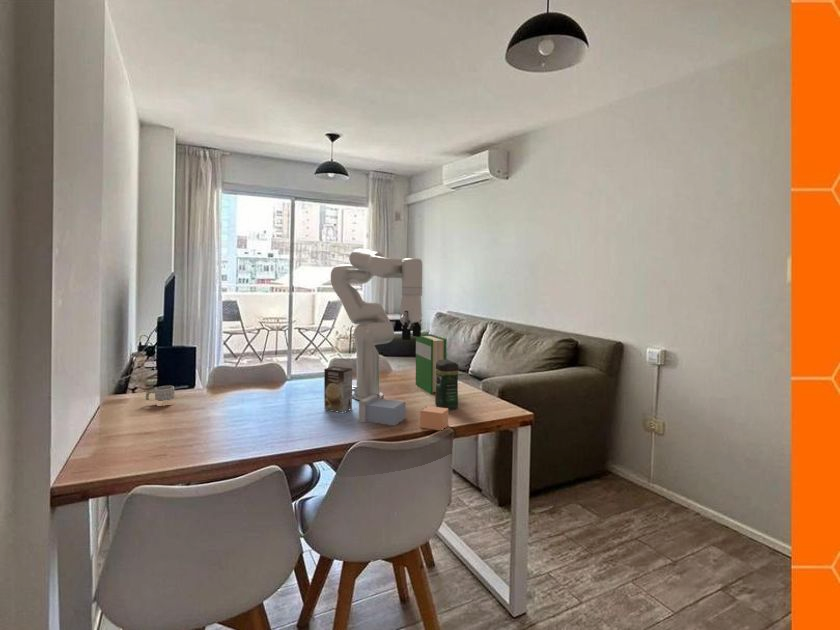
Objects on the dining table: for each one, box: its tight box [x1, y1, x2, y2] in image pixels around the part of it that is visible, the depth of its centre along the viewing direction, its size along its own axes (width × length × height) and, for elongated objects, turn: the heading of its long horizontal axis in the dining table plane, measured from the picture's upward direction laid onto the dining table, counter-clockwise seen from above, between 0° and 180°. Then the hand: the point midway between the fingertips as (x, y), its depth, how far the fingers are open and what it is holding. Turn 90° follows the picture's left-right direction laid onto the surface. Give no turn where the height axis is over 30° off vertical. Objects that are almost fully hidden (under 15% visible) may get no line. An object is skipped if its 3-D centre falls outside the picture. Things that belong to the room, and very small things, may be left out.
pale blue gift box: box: [358, 394, 407, 427], centre depth 163 cm, size 14×11×7 cm
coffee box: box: [323, 365, 353, 413], centre depth 174 cm, size 9×6×16 cm
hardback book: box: [415, 333, 448, 395], centre depth 206 cm, size 18×7×24 cm, turn 22°
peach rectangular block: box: [419, 405, 449, 431], centre depth 156 cm, size 8×6×6 cm
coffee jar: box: [434, 359, 460, 411], centre depth 179 cm, size 10×8×19 cm
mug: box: [145, 385, 175, 401], centre depth 179 cm, size 10×7×7 cm, turn 108°
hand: (411, 338), depth 170 cm, fingers open, 9 cm apart
